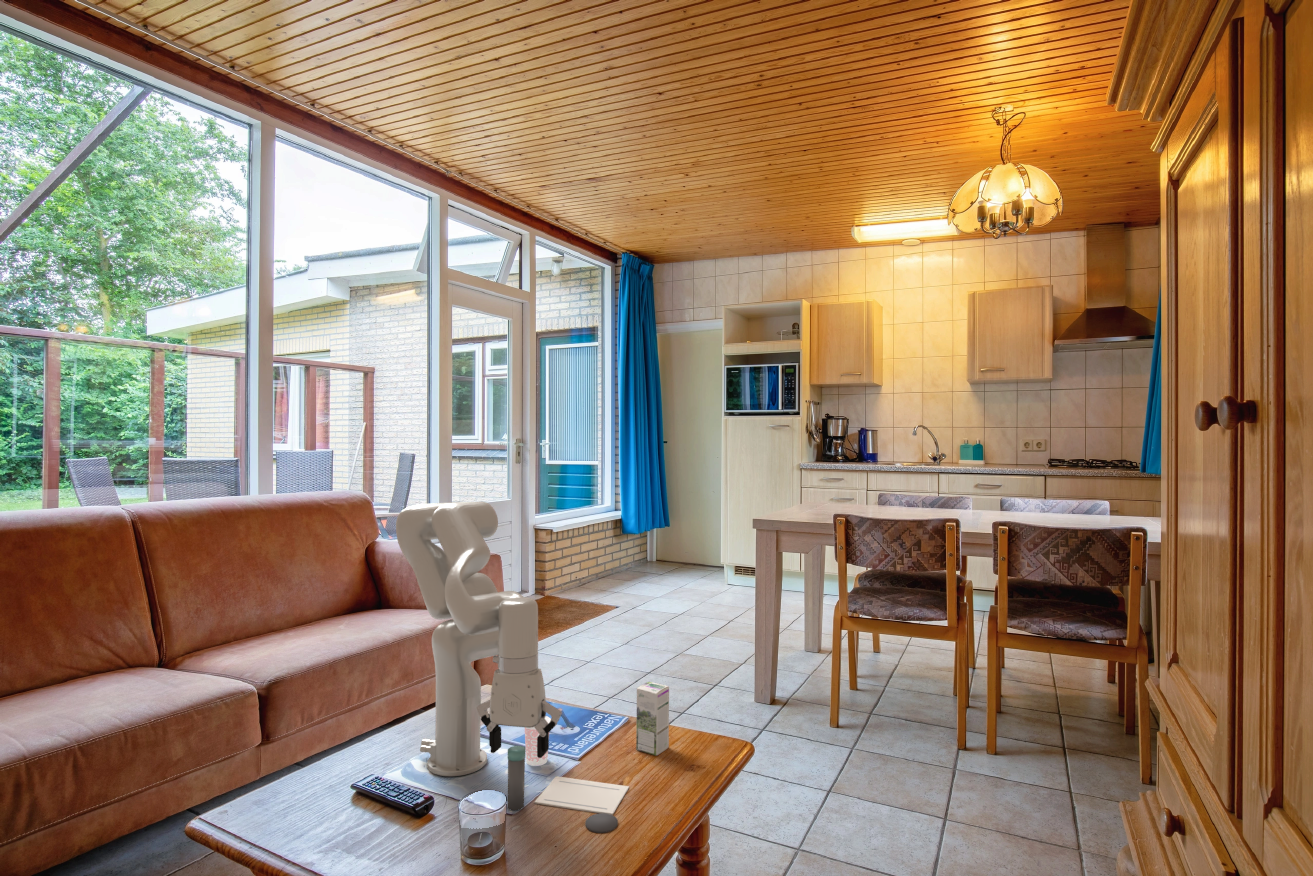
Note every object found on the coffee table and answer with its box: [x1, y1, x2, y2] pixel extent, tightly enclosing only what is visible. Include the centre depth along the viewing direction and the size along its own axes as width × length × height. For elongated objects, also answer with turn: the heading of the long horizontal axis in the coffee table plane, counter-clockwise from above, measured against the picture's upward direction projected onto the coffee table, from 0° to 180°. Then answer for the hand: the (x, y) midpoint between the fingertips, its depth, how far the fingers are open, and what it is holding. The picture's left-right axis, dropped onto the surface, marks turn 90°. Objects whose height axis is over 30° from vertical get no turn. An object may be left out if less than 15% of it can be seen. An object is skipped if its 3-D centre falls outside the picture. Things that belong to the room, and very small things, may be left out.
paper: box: [534, 776, 630, 816], centre depth 143 cm, size 16×11×1 cm
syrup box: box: [635, 681, 670, 756], centre depth 165 cm, size 6×6×14 cm
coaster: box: [584, 813, 619, 834], centre depth 132 cm, size 6×6×1 cm
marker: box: [506, 745, 526, 812], centre depth 138 cm, size 3×3×11 cm
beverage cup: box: [524, 715, 552, 767], centre depth 158 cm, size 6×6×14 cm
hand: (518, 752), depth 138 cm, fingers open, 9 cm apart
